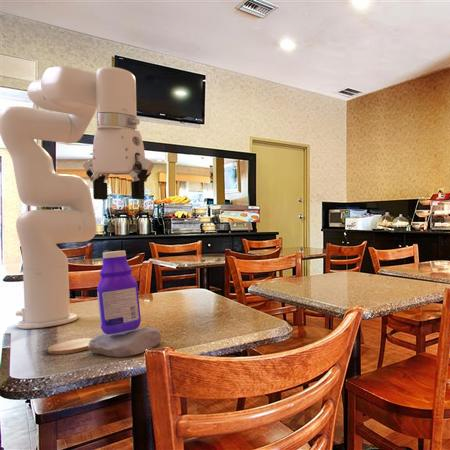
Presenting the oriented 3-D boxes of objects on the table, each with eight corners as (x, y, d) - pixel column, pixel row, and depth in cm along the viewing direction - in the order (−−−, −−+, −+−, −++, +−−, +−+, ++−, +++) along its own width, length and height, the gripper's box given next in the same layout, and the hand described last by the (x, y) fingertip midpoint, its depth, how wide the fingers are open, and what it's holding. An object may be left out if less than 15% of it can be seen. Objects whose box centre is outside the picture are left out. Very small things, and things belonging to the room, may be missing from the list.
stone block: (134, 365, 84) (166, 341, 94) (129, 344, 83) (161, 321, 92) (82, 366, 85) (118, 342, 95) (76, 345, 84) (113, 323, 94)
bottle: (138, 325, 93) (130, 249, 93) (144, 328, 89) (135, 249, 89) (99, 333, 88) (90, 253, 88) (104, 337, 84) (94, 253, 84)
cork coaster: (36, 353, 87) (36, 350, 87) (75, 340, 96) (75, 337, 96) (73, 354, 86) (73, 351, 86) (109, 341, 95) (109, 338, 95)
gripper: (163, 126, 96) (164, 199, 97) (98, 129, 98) (100, 200, 99) (138, 119, 89) (140, 198, 89) (68, 122, 91) (71, 199, 92)
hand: (119, 199), depth 94 cm, fingers open, 9 cm apart
